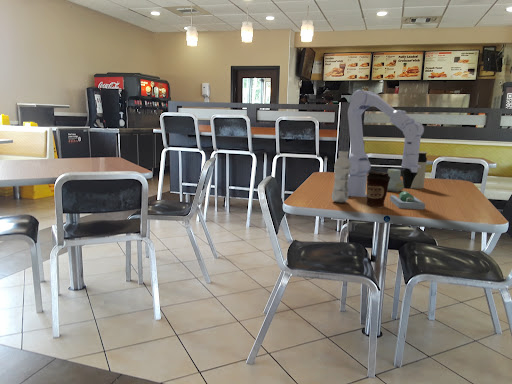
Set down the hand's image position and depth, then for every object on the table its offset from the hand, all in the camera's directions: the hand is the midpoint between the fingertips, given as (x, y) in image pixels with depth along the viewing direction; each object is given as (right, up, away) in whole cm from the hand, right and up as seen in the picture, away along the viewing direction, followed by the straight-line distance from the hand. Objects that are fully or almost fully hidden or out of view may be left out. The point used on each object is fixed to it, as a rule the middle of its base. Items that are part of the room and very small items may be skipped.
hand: (407, 188), depth 156 cm
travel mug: (+20, +1, +42) cm, 47 cm away
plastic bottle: (-26, -6, 0) cm, 27 cm away
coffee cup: (-14, -7, -5) cm, 16 cm away
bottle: (0, -3, +4) cm, 5 cm away
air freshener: (+5, -1, +31) cm, 31 cm away
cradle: (0, -7, 0) cm, 6 cm away
